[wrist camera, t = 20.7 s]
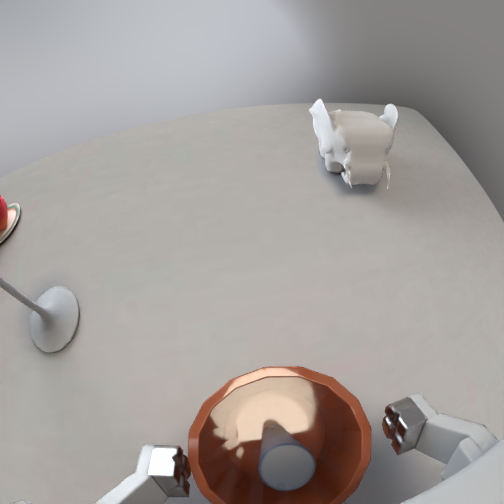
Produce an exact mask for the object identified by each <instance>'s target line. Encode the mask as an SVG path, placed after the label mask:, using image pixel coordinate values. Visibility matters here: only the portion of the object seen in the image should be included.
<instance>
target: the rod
mask: <svg viewBox="0 0 504 504" xmlns="http://www.w3.org/2000/svg"><path fill="white" fill-rule="evenodd" d="M315 467H316V463H315V459H314V456H313V454H312V453H311V452H310V451H309V450H308V449H307V448H306V447H305V446H304V445H302V444H301V443H300V442H299V441H298V440H297V439H296V438H295V437H293V436H292V435H291V434H290V433H289V432H288V431H287V430H286V429H285V428H284V427H282V426H280V425H270V426H268V427H266V428H265V429H264V431H263V433H262V440H261V449H260V459H259V467H258V469H259V475H260V477H261V479H262V481H263V482H264V483H265V484H266V485H267V486H269V487H271V488H273V489H275V490H279V491H291V490H295V489H298V488H300V487H302V486H304V485H305V484H306V483H308V482H309V481H310V479H311V478H312V476H313V474H314V472H315Z"/></svg>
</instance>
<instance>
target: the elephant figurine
mask: <svg viewBox="0 0 504 504" xmlns="http://www.w3.org/2000/svg"><path fill="white" fill-rule="evenodd" d="M309 112H310V113H311V114H312V115H313V127H314V131H315V133H316V135H317V137H318V138H319V149H320V154H321V156H322V157H323V158H325V165H326V169H327V170H328V171H329V172H338V173H340V172H342V171H343V169H344V168H345V172H342V173H341V174H342V177H343V179H344V181H345V182H346V183H347V184H350V186H351V185H356V184H376V183H377V182H378V181H379V179H380V177H381V175H382V171H383V169H385V171H386V174H387V183H388V189H389V182H390V165H389V163H388V162H387V161H386V160H385V158H386V156H387V154H388V153H389V151H390V149H391V146H392V143H393V139H394V134H395V130H396V126H397V122H398V112H397V109H396V107H395V106H394V105H393V104H388V105H387V106H386V107H385V110H384V114H383V115H381V116H380V117H379V118H378V117H377V116H376V115H374V114H372V113H368V112H360V111H341V109H339V110H337V111H331V112H329V113H328V112H327V110H326V109H325V107H324V104H323V101H322V100H321V99H319V100H317V101H316V102H315V103H314V105H313V106H312V107H311V109H310V110H309ZM351 188H352V186H351Z"/></svg>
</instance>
